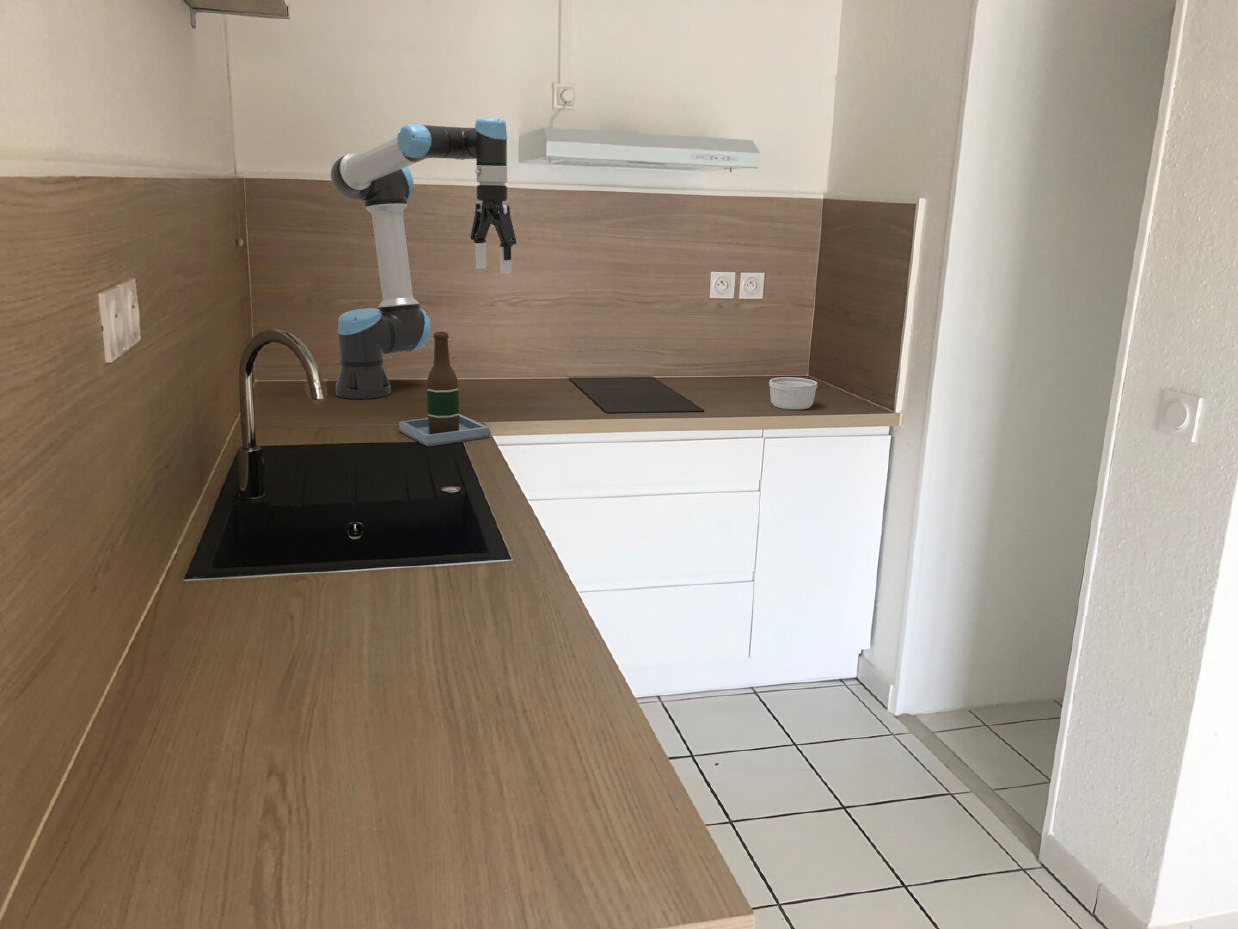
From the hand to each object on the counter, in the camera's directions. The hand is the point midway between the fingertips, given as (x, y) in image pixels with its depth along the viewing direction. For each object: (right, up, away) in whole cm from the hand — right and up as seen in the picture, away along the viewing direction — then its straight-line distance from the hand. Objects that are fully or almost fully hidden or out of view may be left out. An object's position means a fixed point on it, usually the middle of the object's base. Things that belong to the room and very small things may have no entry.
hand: (493, 271), depth 248 cm
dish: (-10, -42, -13) cm, 45 cm away
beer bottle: (-10, -42, -13) cm, 45 cm away
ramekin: (+80, -33, +25) cm, 90 cm away
